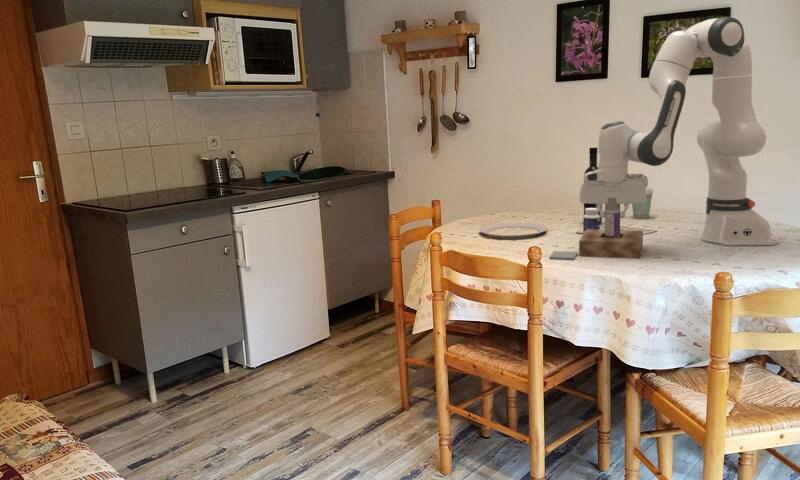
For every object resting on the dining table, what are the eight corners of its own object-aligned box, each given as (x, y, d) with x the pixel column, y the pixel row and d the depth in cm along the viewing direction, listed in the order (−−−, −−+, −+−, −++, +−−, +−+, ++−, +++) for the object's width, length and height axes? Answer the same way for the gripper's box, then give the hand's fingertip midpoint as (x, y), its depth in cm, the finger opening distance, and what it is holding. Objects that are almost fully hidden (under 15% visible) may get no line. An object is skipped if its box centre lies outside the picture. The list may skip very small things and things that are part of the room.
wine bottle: (596, 226, 242) (596, 148, 236) (582, 225, 246) (582, 148, 239) (602, 223, 246) (603, 147, 240) (589, 222, 250) (590, 147, 243)
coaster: (577, 254, 200) (577, 252, 200) (574, 260, 194) (574, 257, 194) (553, 253, 203) (553, 251, 203) (549, 259, 197) (549, 256, 197)
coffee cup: (625, 217, 256) (626, 188, 253) (642, 215, 258) (643, 186, 256) (639, 220, 248) (639, 190, 245) (657, 218, 250) (658, 188, 248)
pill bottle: (600, 237, 223) (600, 209, 221) (583, 237, 224) (583, 210, 222) (598, 233, 228) (599, 207, 226) (582, 234, 230) (582, 207, 227)
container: (616, 240, 204) (617, 195, 201) (622, 243, 200) (622, 197, 197) (602, 241, 204) (602, 196, 201) (607, 244, 200) (607, 198, 197)
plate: (554, 238, 226) (554, 233, 226) (484, 242, 226) (484, 237, 226) (538, 225, 251) (538, 220, 251) (475, 228, 251) (475, 224, 251)
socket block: (642, 245, 207) (642, 230, 206) (639, 258, 191) (639, 242, 190) (586, 243, 215) (586, 229, 214) (579, 255, 199) (579, 240, 198)
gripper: (648, 172, 196) (647, 215, 199) (581, 173, 204) (581, 215, 207) (647, 175, 190) (646, 219, 193) (578, 176, 199) (578, 218, 202)
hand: (612, 217), depth 200 cm, fingers closed on container, 5 cm apart
